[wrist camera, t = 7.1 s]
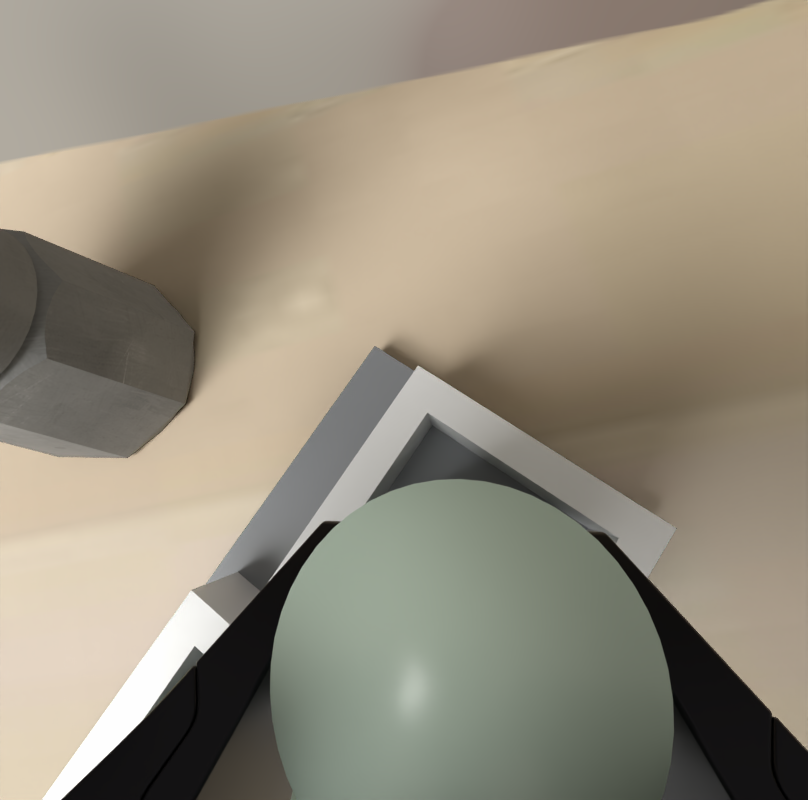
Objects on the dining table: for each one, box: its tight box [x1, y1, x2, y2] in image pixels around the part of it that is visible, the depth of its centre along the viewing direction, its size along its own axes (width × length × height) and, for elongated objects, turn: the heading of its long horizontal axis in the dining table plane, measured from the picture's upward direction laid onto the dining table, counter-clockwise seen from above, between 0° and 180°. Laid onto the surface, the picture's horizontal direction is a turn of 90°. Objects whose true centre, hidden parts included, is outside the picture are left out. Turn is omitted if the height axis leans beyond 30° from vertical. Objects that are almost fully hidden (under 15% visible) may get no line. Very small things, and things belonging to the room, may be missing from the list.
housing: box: [42, 346, 677, 800], centre depth 13 cm, size 21×13×8 cm, turn 145°
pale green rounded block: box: [270, 479, 674, 800], centre depth 10 cm, size 5×5×10 cm
